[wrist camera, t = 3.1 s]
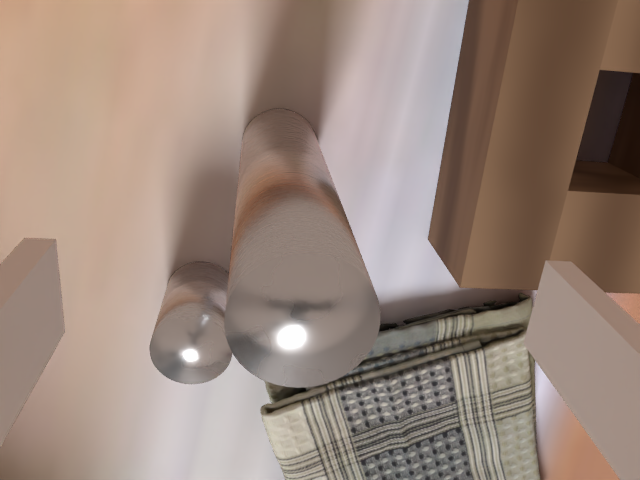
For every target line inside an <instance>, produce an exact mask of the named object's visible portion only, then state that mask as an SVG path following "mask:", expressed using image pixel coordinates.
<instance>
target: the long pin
mask: <svg viewBox="0 0 640 480" xmlns="http://www.w3.org/2000/svg"><path fill="white" fill-rule="evenodd" d="M380 319H381V314H380V306H379V301H378V298H377V295H376V293H375V290H374V288H373V285H372V282H371V280H370V277H369V274H368V272H367V269H366V267H365V264H364V261H363V259H362V256H361V254H360V251H359V248H358V246H357V243H356V240H355V238H354V235H353V233H352V230H351V227H350V225H349V222H348V220H347V217H346V214H345V212H344V209H343V206H342V204H341V201H340V199H339V196H338V193H337V191H336V188H335V186H334V183H333V180H332V178H331V175H330V172H329V170H328V167H327V165H326V162H325V159H324V157H323V154H322V151H321V149H320V146H319V144H318V141H317V138H316V136H315V133H314V131H313V129H312V127H311V125H310V124H309V123H308V121H307V120H306V119H305V118H303V117H302V116H301V115H299V114H297V113H296V112H293V111H290V110H287V109H272V110H268V111H265V112H263V113H261V114H259V115H258V116H256V117H255V118H254V119H253V120H252V121H251V122H250V123H249V124H248V126H247V128H246V129H245V132H244V134H243V138H242V147H241V157H240V167H239V177H238V187H237V197H236V207H235V217H234V228H233V238H232V248H231V258H230V268H229V278H228V288H227V298H226V308H225V319H224V327H225V335H226V339H227V342H228V345H229V347H230V349H231V351H232V353H233V355H234V356H235V357H236V359H237V360H238V361H239V363H240V364H241V365H242V366H243V367H244V368H245V369H247V370H248V371H249V372H251V373H252V374H253V375H255V376H257V377H258V378H260V379H262V380H265V381H267V382H269V383H272V384H276V385H280V386H285V387H296V388H301V387H312V386H318V385H322V384H326V383H329V382H331V381H334V380H336V379H338V378H340V377H342V376H344V375H346V374H347V373H349V372H350V371H352V370H353V369H354V368H355V367H356V366H358V365H359V364H360V363H361V362H362V361H363V360H364V358H365V357H366V356H367V355H368V353H369V352H370V350H371V349H372V347H373V345H374V343H375V341H376V338H377V336H378V332H379V328H380Z"/></svg>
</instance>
